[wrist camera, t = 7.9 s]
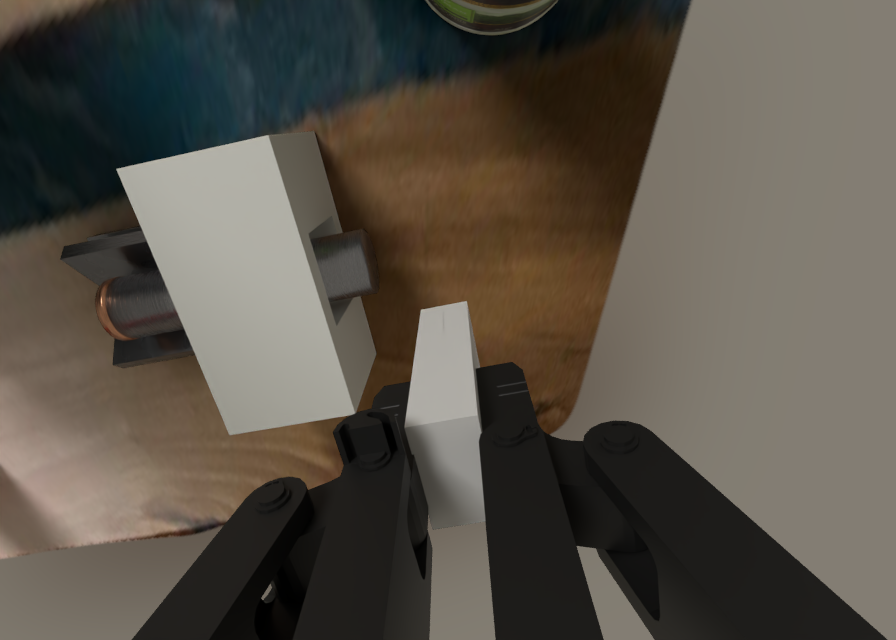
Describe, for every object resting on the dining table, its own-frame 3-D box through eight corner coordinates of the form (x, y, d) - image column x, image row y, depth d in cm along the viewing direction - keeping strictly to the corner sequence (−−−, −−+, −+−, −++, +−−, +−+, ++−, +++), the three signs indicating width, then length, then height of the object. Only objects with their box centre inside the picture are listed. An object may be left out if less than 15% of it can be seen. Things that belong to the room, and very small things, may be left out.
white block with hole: (275, 371, 39) (229, 435, 31) (197, 156, 33) (116, 169, 25) (376, 353, 38) (355, 414, 30) (314, 131, 32) (268, 135, 24)
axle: (151, 326, 35) (114, 351, 31) (126, 270, 34) (84, 289, 30) (382, 282, 34) (373, 303, 30) (367, 222, 32) (354, 236, 28)
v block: (150, 348, 39) (117, 374, 35) (98, 234, 35) (54, 248, 32) (224, 335, 38) (198, 359, 34) (178, 217, 35) (143, 229, 31)
